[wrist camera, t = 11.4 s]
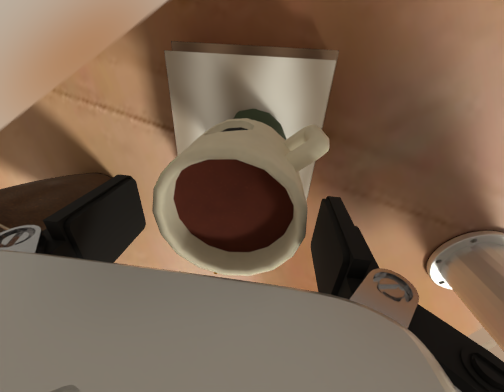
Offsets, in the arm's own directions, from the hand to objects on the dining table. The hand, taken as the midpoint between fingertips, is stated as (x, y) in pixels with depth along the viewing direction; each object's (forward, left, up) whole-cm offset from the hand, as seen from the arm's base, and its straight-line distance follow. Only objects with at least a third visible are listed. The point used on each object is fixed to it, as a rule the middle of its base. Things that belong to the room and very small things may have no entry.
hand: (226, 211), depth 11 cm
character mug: (0, 0, -12) cm, 12 cm away
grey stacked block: (+1, 0, -20) cm, 20 cm away
